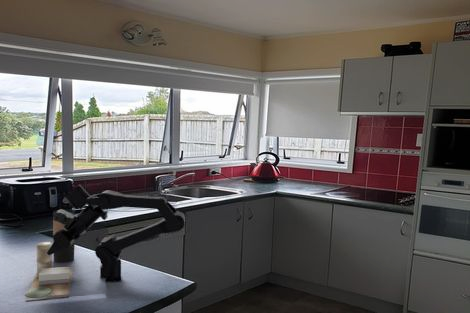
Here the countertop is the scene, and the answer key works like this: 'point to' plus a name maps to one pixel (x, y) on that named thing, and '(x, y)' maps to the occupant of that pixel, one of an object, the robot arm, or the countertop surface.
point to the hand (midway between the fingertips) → (52, 249)
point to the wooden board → (48, 290)
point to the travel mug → (67, 254)
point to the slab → (54, 276)
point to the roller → (43, 256)
